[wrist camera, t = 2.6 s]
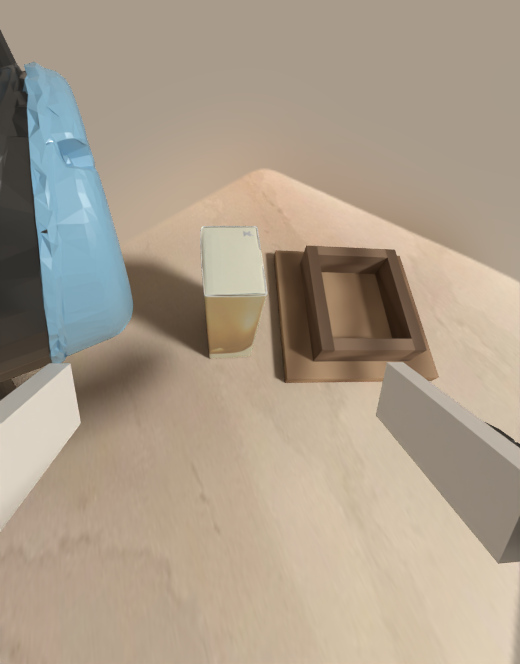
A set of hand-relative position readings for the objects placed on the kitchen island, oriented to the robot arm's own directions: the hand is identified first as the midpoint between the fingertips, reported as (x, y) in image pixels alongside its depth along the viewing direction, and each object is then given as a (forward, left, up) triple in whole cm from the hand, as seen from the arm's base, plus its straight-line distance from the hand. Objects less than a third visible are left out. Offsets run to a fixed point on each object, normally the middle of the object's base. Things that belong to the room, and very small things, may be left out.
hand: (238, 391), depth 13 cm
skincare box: (-4, +10, -16) cm, 19 cm away
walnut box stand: (+8, +17, -16) cm, 25 cm away
